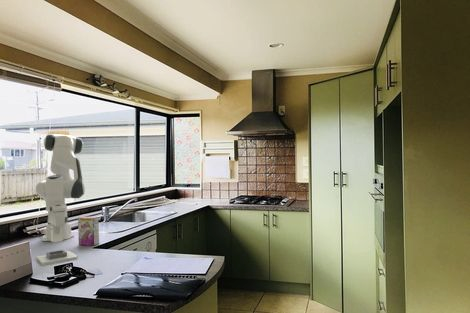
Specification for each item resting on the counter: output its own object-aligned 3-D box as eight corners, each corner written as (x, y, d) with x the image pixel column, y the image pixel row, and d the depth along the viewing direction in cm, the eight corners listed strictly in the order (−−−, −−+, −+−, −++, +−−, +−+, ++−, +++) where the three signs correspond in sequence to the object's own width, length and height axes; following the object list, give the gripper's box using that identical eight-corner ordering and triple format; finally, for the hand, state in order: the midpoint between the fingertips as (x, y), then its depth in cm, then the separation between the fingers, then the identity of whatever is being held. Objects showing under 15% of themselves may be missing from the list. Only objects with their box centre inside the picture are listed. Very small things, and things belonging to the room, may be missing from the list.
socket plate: (36, 258, 183) (36, 252, 183) (69, 252, 193) (69, 247, 193) (42, 265, 171) (42, 258, 171) (77, 258, 180) (77, 252, 181)
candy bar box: (78, 245, 211) (77, 217, 211) (83, 243, 216) (83, 216, 216) (94, 245, 208) (93, 218, 208) (99, 243, 213) (98, 216, 213)
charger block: (50, 241, 182) (50, 225, 182) (60, 239, 185) (59, 224, 185) (52, 242, 179) (52, 226, 179) (62, 240, 182) (61, 225, 182)
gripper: (44, 205, 188) (45, 231, 188) (53, 209, 172) (54, 237, 172) (57, 204, 192) (58, 229, 192) (67, 207, 176) (67, 235, 176)
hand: (56, 233), depth 182 cm, fingers closed on charger block, 4 cm apart
